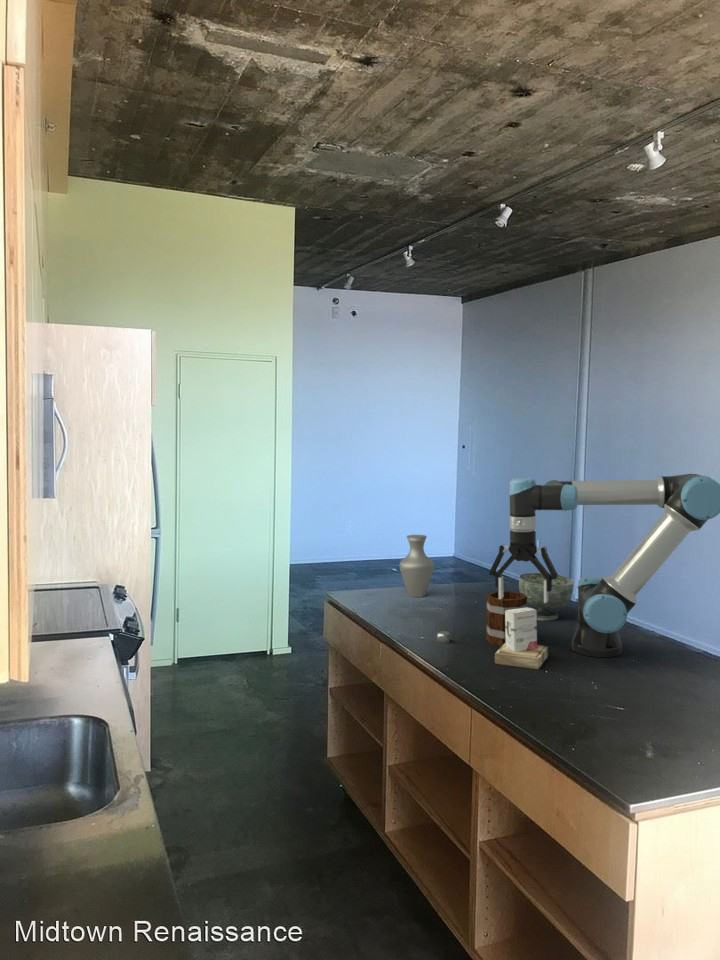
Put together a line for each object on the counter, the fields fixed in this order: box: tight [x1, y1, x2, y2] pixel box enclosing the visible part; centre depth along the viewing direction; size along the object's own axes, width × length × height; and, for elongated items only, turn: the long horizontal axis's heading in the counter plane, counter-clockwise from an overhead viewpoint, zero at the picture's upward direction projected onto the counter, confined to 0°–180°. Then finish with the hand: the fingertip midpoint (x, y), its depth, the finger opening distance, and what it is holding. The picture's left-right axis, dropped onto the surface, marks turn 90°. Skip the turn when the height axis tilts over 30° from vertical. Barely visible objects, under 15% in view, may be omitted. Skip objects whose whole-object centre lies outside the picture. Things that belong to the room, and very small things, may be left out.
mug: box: [485, 590, 528, 647], centre depth 248 cm, size 20×14×15 cm
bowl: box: [518, 572, 575, 622], centre depth 273 cm, size 20×19×15 cm
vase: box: [399, 534, 435, 598], centre depth 309 cm, size 14×14×25 cm
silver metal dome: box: [436, 630, 450, 645], centre depth 245 cm, size 4×4×3 cm
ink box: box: [505, 606, 538, 652], centre depth 225 cm, size 9×5×12 cm, turn 115°
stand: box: [494, 643, 549, 670], centre depth 225 cm, size 13×13×4 cm
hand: (523, 600), depth 224 cm, fingers open, 13 cm apart
